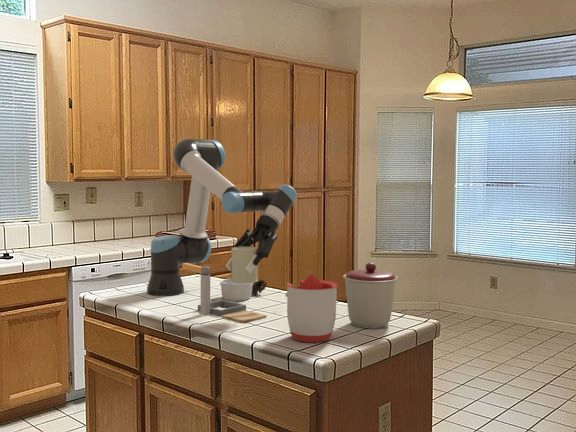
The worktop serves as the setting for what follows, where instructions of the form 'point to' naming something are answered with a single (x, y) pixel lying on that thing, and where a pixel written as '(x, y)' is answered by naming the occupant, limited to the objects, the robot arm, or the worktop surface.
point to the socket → (209, 307)
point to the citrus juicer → (311, 309)
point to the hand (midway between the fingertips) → (237, 269)
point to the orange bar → (196, 268)
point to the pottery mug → (258, 287)
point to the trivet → (244, 316)
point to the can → (243, 264)
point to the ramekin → (235, 290)
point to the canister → (370, 296)
